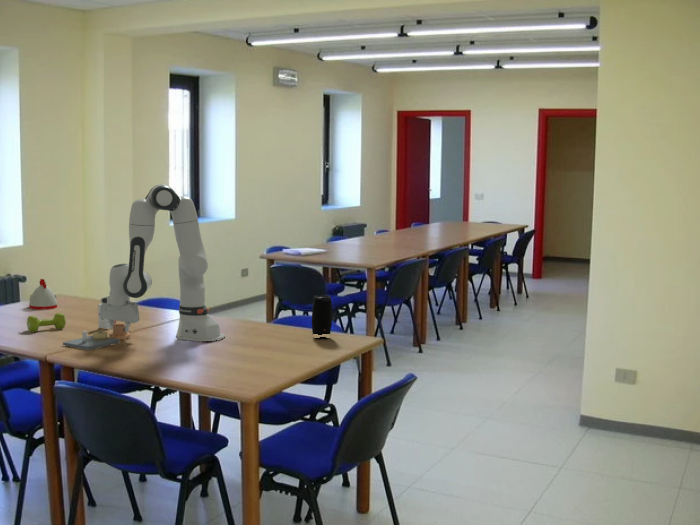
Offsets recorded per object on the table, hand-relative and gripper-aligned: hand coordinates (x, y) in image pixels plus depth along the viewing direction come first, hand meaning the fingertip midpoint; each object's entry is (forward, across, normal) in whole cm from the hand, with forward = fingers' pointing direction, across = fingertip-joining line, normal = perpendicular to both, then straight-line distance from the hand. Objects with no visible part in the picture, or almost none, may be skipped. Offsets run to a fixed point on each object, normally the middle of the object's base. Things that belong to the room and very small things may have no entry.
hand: (119, 330), depth 367 cm
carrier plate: (+3, 0, +17) cm, 17 cm away
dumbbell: (+4, +38, +7) cm, 39 cm away
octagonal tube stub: (+3, 0, 0) cm, 3 cm away
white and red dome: (+3, +83, -32) cm, 89 cm away
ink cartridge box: (+3, +20, -13) cm, 24 cm away
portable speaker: (+3, -74, -52) cm, 91 cm away
